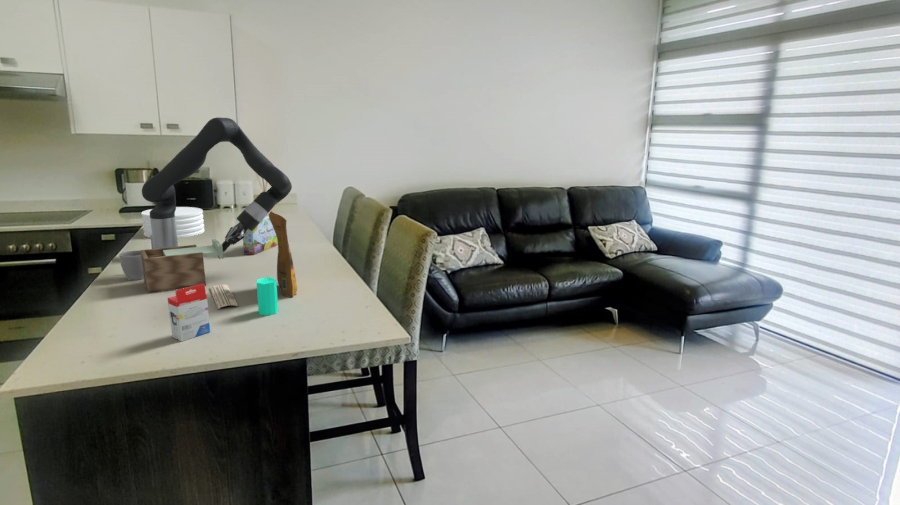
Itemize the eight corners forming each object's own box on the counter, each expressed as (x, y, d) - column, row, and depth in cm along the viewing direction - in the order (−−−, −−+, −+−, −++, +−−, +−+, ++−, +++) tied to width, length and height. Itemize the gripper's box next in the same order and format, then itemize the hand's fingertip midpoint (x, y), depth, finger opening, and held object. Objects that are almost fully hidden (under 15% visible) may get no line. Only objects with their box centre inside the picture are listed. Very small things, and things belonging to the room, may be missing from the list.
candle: (261, 308, 161) (259, 272, 158) (280, 308, 161) (278, 273, 158) (256, 315, 155) (253, 278, 152) (275, 315, 156) (273, 278, 153)
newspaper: (209, 290, 178) (209, 285, 178) (231, 287, 182) (230, 283, 181) (218, 312, 159) (217, 306, 158) (242, 308, 162) (241, 303, 162)
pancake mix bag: (280, 300, 169) (275, 218, 162) (272, 284, 185) (267, 209, 178) (300, 297, 172) (297, 217, 165) (290, 282, 188) (287, 208, 181)
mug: (149, 280, 185) (146, 255, 182) (121, 282, 181) (118, 257, 178) (150, 271, 195) (147, 247, 193) (124, 274, 191) (120, 249, 188)
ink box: (201, 328, 144) (196, 279, 141) (210, 332, 142) (206, 283, 138) (171, 337, 138) (165, 287, 134) (180, 342, 135) (175, 290, 131)
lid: (216, 251, 193) (215, 238, 192) (223, 258, 184) (222, 245, 182) (163, 257, 183) (161, 243, 181) (167, 264, 173) (166, 251, 172)
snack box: (254, 255, 223) (252, 222, 220) (243, 254, 224) (240, 221, 221) (279, 245, 244) (277, 214, 240) (268, 244, 245) (267, 213, 241)
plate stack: (130, 236, 251) (127, 214, 248) (169, 226, 277) (167, 205, 275) (180, 240, 246) (178, 217, 243) (215, 229, 273) (214, 208, 270)
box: (198, 275, 192) (195, 244, 189) (205, 285, 181) (202, 252, 178) (144, 282, 182) (140, 250, 179) (148, 293, 171) (144, 259, 168)
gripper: (240, 206, 195) (209, 240, 191) (249, 212, 185) (216, 248, 181) (255, 219, 200) (224, 252, 196) (265, 225, 189) (233, 260, 185)
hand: (220, 250), depth 188 cm, fingers closed
